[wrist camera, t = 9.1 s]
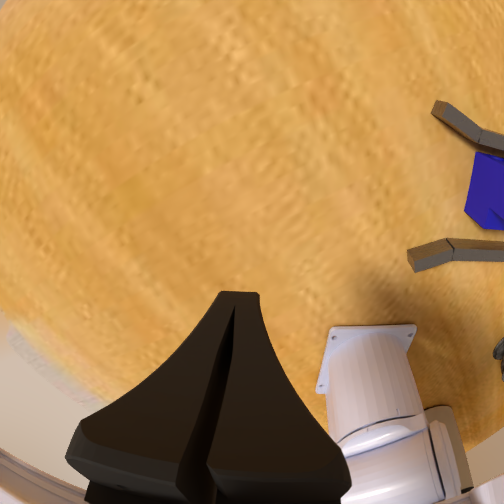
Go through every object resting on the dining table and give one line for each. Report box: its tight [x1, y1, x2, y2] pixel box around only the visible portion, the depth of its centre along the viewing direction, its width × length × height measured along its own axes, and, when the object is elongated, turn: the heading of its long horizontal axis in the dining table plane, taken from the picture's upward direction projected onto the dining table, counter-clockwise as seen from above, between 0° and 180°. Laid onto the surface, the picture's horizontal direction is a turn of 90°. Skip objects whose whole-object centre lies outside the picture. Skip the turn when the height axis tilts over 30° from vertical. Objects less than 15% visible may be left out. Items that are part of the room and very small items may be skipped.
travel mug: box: [424, 406, 474, 494], centre depth 26 cm, size 8×8×18 cm
